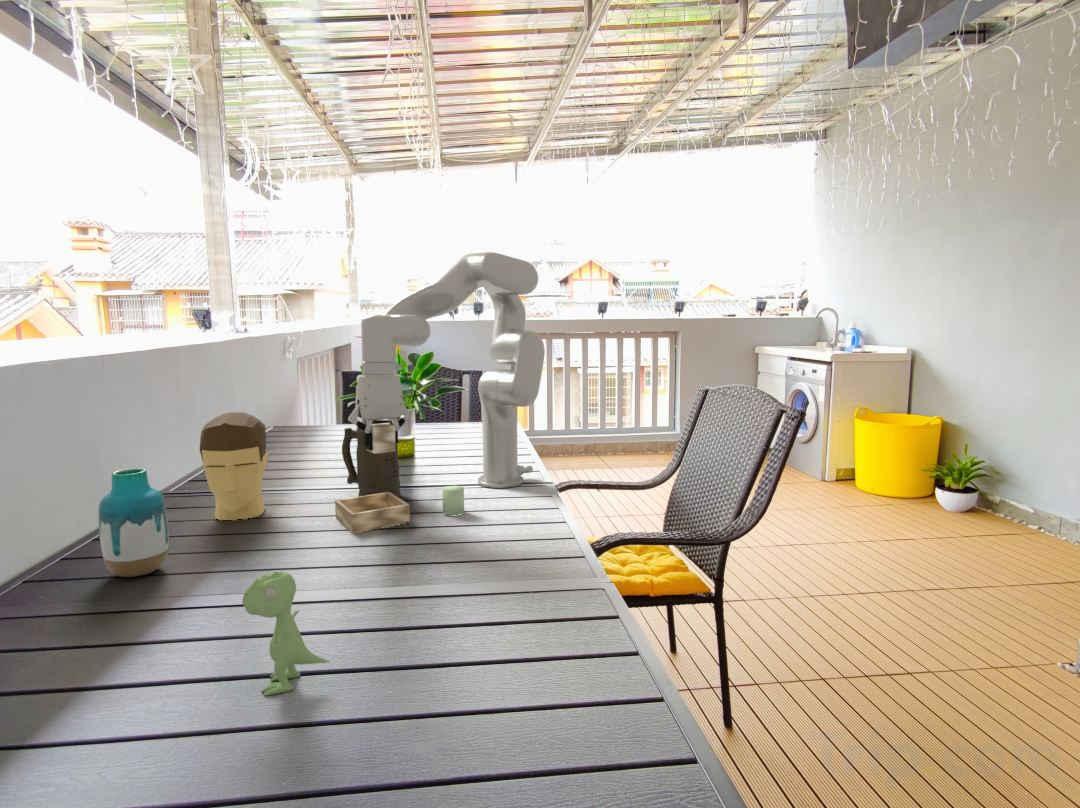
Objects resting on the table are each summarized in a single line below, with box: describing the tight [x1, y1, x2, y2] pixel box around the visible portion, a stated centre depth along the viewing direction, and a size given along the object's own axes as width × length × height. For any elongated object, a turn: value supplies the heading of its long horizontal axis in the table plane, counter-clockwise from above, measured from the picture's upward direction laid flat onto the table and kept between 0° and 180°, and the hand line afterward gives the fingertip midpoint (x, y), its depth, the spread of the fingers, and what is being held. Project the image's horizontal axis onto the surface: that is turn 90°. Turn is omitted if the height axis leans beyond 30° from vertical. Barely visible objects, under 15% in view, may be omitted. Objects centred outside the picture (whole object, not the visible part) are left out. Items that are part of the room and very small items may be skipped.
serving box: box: [334, 492, 411, 535], centre depth 150 cm, size 13×13×4 cm
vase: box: [98, 468, 170, 578], centre depth 119 cm, size 11×11×19 cm
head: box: [199, 411, 270, 521], centre depth 152 cm, size 14×21×25 cm, turn 17°
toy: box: [242, 571, 331, 697], centre depth 84 cm, size 7×8×15 cm
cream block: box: [368, 423, 396, 454], centre depth 151 cm, size 5×5×6 cm
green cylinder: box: [441, 485, 465, 515], centre depth 156 cm, size 5×5×6 cm
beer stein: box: [341, 419, 402, 498], centre depth 168 cm, size 15×11×20 cm
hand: (381, 447), depth 152 cm, fingers closed on cream block, 4 cm apart
